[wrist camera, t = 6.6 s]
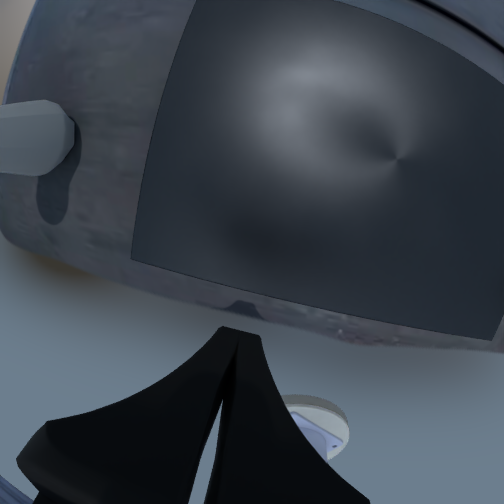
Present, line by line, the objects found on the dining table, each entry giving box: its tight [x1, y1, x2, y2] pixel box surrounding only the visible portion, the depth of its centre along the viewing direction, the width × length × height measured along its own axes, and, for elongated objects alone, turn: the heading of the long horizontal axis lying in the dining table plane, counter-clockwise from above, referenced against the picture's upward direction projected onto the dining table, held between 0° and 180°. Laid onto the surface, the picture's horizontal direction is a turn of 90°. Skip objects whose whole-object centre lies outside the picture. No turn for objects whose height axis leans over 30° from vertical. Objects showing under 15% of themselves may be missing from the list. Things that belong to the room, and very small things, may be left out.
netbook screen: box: [131, 0, 504, 341], centre depth 14 cm, size 18×26×1 cm
